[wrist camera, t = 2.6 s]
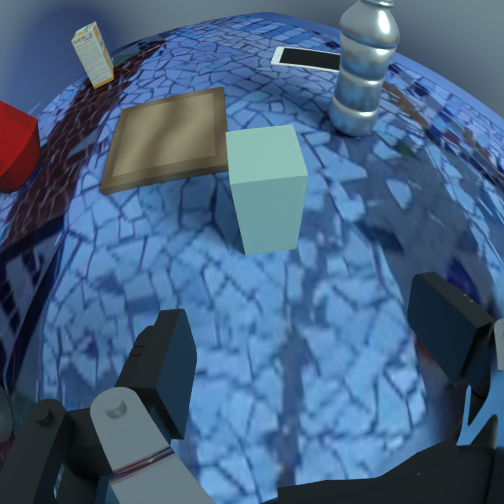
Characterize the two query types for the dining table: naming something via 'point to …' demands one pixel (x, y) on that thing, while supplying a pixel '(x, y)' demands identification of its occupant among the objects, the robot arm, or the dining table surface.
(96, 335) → the dining table surface
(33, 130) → the bottle
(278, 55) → the cell phone
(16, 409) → the dining table surface
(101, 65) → the supplement box
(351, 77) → the plastic bottle
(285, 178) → the block
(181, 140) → the tray
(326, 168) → the dining table surface
